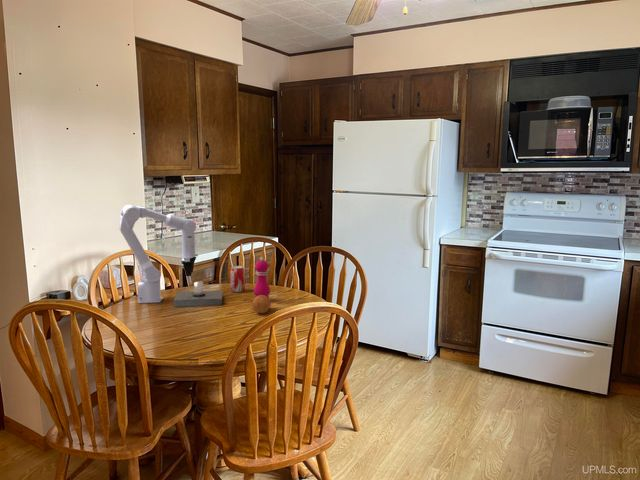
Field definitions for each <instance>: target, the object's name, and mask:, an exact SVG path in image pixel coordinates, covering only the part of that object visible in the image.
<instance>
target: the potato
mask: <svg viewBox="0 0 640 480" xmlns="http://www.w3.org/2000/svg"><path fill="white" fill-rule="evenodd" d="M255 297H256V296H255ZM255 297H254V299H253V301H252V308H253V310H254V312H255V313H257V314H266V313H268V311H269V308H270V307H272V305H271V304H272V302H271V299H270V297H269V298H268V297H267V296H265V295H258V296H257V297H256V298H255Z"/></svg>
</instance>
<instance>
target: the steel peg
mask: <svg viewBox="0 0 640 480" xmlns="http://www.w3.org/2000/svg"><path fill="white" fill-rule="evenodd" d="M203 291H204V281H199V280H197V281H193V292H194V297H203Z"/></svg>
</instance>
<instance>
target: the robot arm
mask: <svg viewBox="0 0 640 480" xmlns="http://www.w3.org/2000/svg"><path fill="white" fill-rule="evenodd" d="M119 215H120V219H119V231H120V233H121V234H122V236H123V238H124V240H125V241H126V243H127V245H128V246H129V248H130V250H131V252H132V253H133V255H134V256H135V259H136V260H137V262H138V264H139V266H140V269H141V274H142V276H143V277H144V278H143V280H142V281H138V284H137V300H138V301H137V302H138V304H151V303H161V302H162V300H163V298H164V297H163V296H161V295H162V294H161V292H162V291H161V274H162V273H161V272H160V270H159V269H157V267H155V265H154V264H153V262H152V261H151V259H150V258H149V255H148V254H147V253H146V251H145V249H144V247H143V245H142V243H141V242H140V240H139V239H138V236H137V235H136V233H135V231H134V226H135V224H136V223H137V221H138V220H140V219H144V218H150V219H154V220H156V221H161V222H163V223H164V224H165V225H166V227H170V228H173V229H176V230H179V231H180V230H181V243H182V244H181V245H182V246H181V249H182V255H181V257H182V258H183V260H181V264H182V266H183V268H184V269H183V270H184V272H185V276H186V277H191V276H192V273H193V272H194V266H195V262H196V259H197V257H198V256H199V254H198V253H196V238H195V231H196V229H197V225H196V223H195V222H194V221H193V220H191V219H189V218H187V217H185V216H183V217H182V216H179V215H177V213H169V214H164V213H161V212H158V211H155V210H152V209H149V208H147V207H142V206H138V205H136V206H135V205H134V204H133V205H132V204H126V205H125V206H124V207H123V208H122V209H121V212H120V214H119Z"/></svg>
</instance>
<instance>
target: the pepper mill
mask: <svg viewBox="0 0 640 480" xmlns="http://www.w3.org/2000/svg"><path fill="white" fill-rule="evenodd" d="M254 265H255V266H254V268H255V270H256V275H257V281H256V284H255V286H254V289H253V293H254V295H255V297H254V299H255V298H256V297H257V296H258V295H265V296H267V297H268V298H269V299H270V296H269V295H270V293H271V288H270V285H269V283H268V280H267V279H268V278H267V275H268V269H269V263H268V261H266V260H265V259H264V257H263V256H261V257H259V260H258V261H256V263H255V264H254Z"/></svg>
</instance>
